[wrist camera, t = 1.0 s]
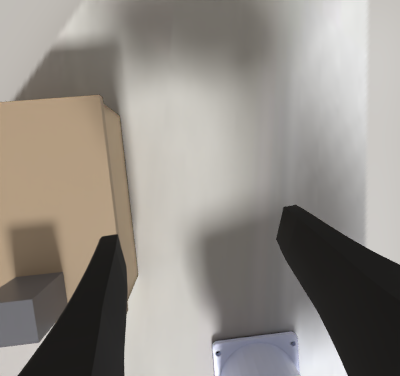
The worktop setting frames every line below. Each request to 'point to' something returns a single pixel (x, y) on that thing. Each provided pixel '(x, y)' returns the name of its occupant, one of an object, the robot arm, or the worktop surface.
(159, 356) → the worktop surface
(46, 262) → the carton lid
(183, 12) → the worktop surface
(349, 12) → the worktop surface
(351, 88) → the worktop surface
